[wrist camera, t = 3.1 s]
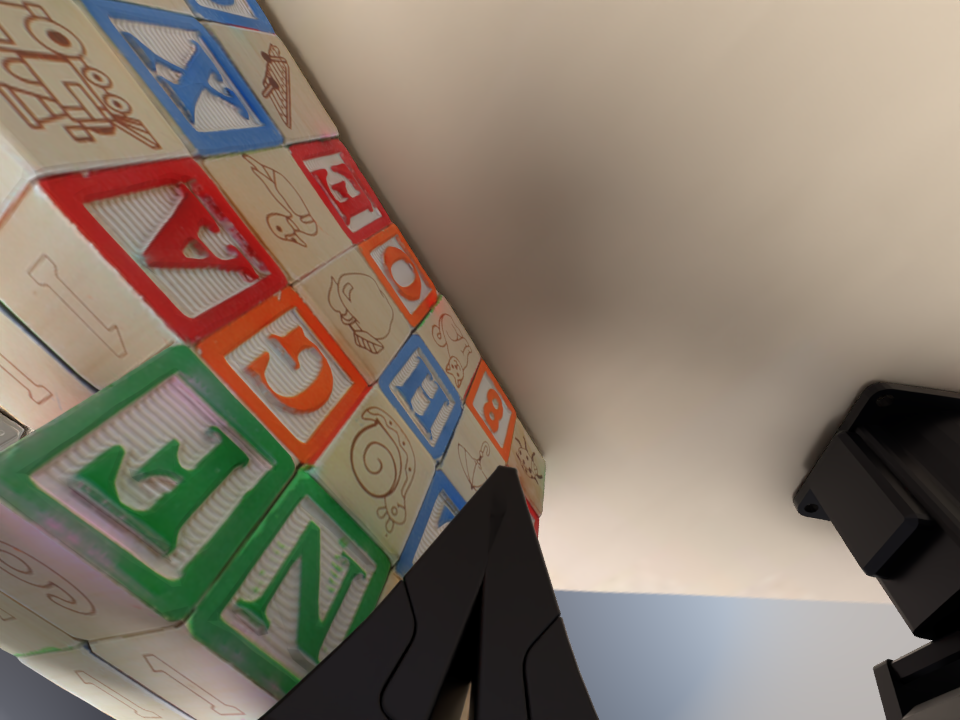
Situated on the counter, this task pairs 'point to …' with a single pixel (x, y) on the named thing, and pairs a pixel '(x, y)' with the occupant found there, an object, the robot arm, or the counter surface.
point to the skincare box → (9, 432)
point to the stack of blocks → (210, 366)
